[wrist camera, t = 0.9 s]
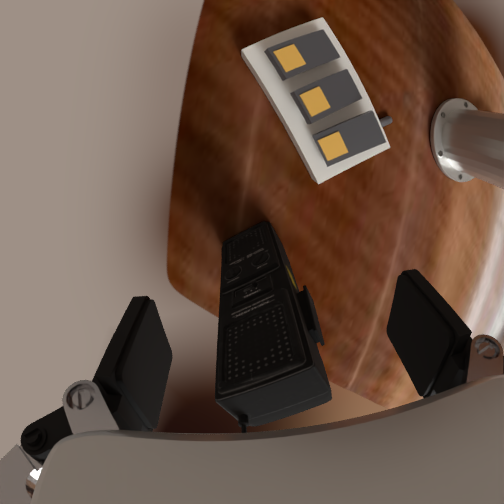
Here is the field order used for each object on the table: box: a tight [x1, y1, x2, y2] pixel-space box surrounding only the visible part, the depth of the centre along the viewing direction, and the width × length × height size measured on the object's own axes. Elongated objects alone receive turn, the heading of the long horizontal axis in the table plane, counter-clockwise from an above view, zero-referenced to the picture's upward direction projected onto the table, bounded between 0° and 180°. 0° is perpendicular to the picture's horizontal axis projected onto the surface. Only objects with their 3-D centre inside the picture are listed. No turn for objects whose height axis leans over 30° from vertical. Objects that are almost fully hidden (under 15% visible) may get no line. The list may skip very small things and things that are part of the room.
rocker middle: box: [290, 69, 363, 124], centre depth 25 cm, size 7×4×2 cm, turn 119°
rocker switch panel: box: [241, 17, 392, 184], centre depth 27 cm, size 13×17×3 cm
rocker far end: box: [264, 29, 340, 81], centre depth 23 cm, size 7×4×2 cm, turn 119°
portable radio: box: [215, 221, 332, 433], centre depth 25 cm, size 8×6×25 cm
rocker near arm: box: [312, 110, 386, 167], centre depth 27 cm, size 7×4×2 cm, turn 120°
